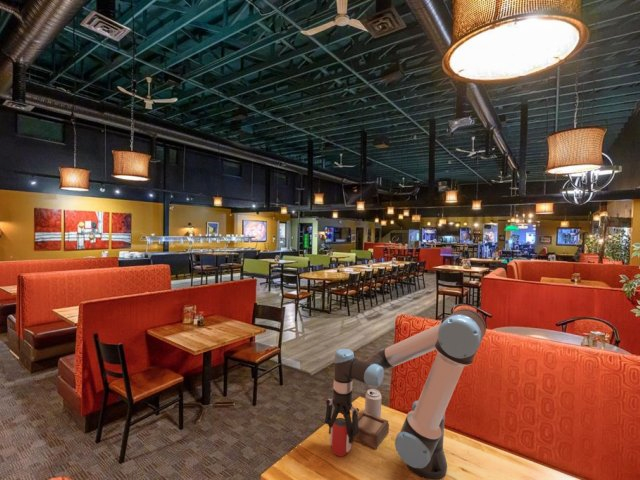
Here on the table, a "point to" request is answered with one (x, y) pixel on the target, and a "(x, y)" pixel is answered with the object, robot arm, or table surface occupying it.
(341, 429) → the beer can
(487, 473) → the table surface
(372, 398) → the can
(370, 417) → the walnut tray
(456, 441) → the table surface
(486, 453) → the table surface
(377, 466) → the table surface
